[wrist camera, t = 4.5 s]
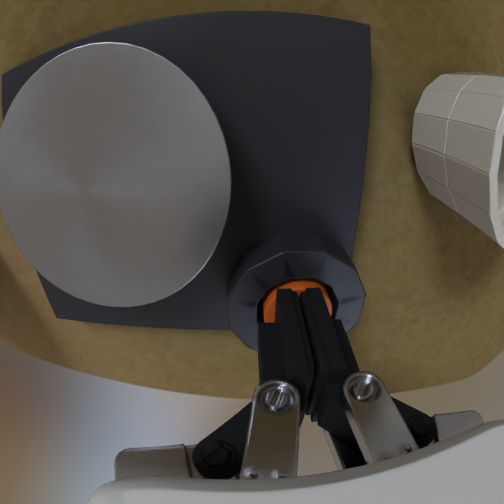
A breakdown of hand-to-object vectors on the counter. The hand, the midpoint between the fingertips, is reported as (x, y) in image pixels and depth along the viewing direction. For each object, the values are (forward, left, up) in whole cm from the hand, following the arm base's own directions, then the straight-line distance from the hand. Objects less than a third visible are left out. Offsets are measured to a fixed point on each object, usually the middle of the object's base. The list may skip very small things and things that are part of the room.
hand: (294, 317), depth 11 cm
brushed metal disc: (+7, -6, 0) cm, 9 cm away
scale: (+5, -4, -3) cm, 8 cm away
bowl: (-9, -7, -3) cm, 12 cm away
